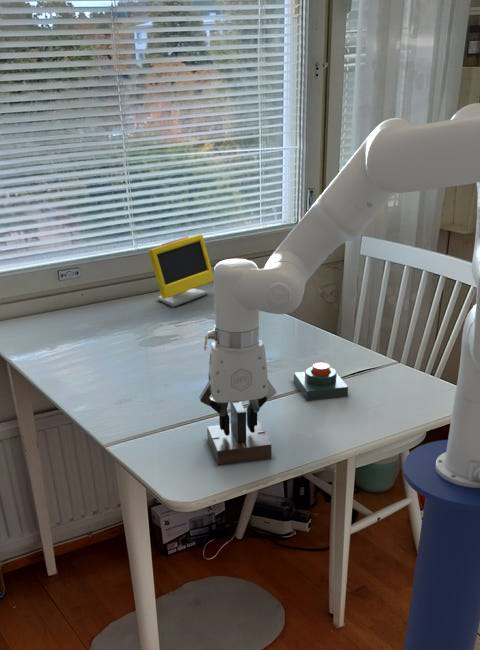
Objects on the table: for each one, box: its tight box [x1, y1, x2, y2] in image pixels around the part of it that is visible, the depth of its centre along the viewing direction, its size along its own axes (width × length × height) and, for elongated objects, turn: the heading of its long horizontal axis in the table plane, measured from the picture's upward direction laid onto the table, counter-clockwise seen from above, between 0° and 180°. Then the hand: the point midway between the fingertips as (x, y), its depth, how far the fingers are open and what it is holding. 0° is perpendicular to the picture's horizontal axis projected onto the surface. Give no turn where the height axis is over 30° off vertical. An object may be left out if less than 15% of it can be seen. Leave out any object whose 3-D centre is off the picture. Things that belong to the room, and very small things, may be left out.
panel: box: [206, 420, 272, 466], centre depth 146 cm, size 10×10×3 cm
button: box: [312, 362, 331, 376], centre depth 166 cm, size 4×4×2 cm
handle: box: [229, 401, 247, 443], centre depth 143 cm, size 6×2×6 cm, turn 13°
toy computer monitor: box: [148, 233, 214, 308], centre depth 215 cm, size 20×8×16 cm, turn 140°
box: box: [293, 365, 349, 402], centre depth 167 cm, size 10×9×4 cm
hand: (238, 429), depth 145 cm, fingers open, 4 cm apart
